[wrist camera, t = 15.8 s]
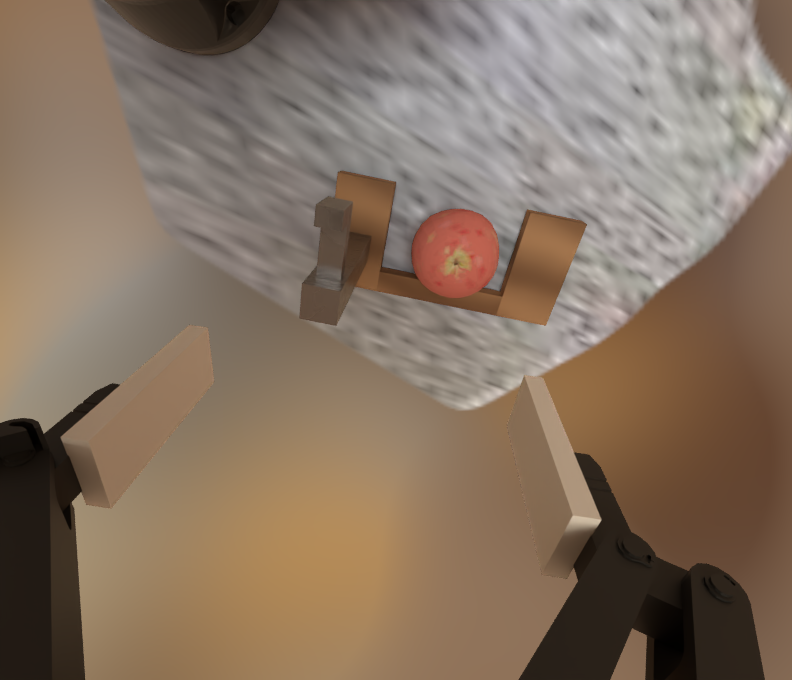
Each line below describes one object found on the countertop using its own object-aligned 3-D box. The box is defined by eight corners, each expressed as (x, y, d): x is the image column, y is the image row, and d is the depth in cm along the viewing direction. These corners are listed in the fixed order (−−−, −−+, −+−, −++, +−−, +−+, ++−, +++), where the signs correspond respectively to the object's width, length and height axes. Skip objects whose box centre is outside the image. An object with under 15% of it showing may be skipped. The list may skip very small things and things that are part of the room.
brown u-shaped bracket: (341, 170, 36) (337, 172, 35) (581, 220, 36) (586, 224, 35) (329, 275, 41) (326, 280, 40) (542, 319, 41) (545, 325, 40)
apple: (415, 198, 37) (411, 216, 30) (497, 202, 36) (512, 221, 29) (411, 276, 40) (407, 309, 33) (486, 281, 40) (497, 314, 33)
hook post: (352, 175, 35) (308, 203, 23) (380, 181, 35) (350, 212, 23) (342, 255, 38) (299, 318, 26) (367, 260, 38) (336, 325, 26)
